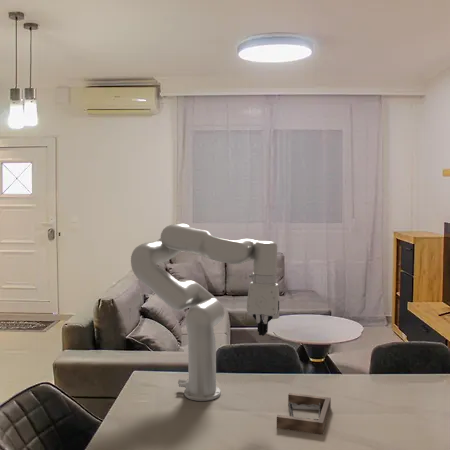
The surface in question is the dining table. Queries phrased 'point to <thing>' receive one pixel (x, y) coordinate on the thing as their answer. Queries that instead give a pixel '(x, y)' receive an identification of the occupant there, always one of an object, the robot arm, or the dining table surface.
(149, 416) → the dining table surface
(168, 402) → the dining table surface
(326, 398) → the frame
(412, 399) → the dining table surface
